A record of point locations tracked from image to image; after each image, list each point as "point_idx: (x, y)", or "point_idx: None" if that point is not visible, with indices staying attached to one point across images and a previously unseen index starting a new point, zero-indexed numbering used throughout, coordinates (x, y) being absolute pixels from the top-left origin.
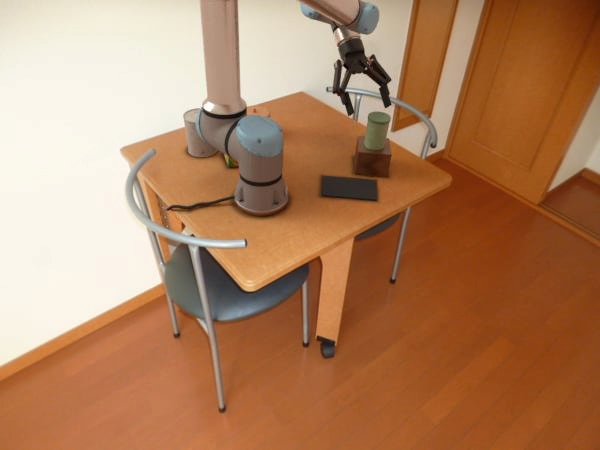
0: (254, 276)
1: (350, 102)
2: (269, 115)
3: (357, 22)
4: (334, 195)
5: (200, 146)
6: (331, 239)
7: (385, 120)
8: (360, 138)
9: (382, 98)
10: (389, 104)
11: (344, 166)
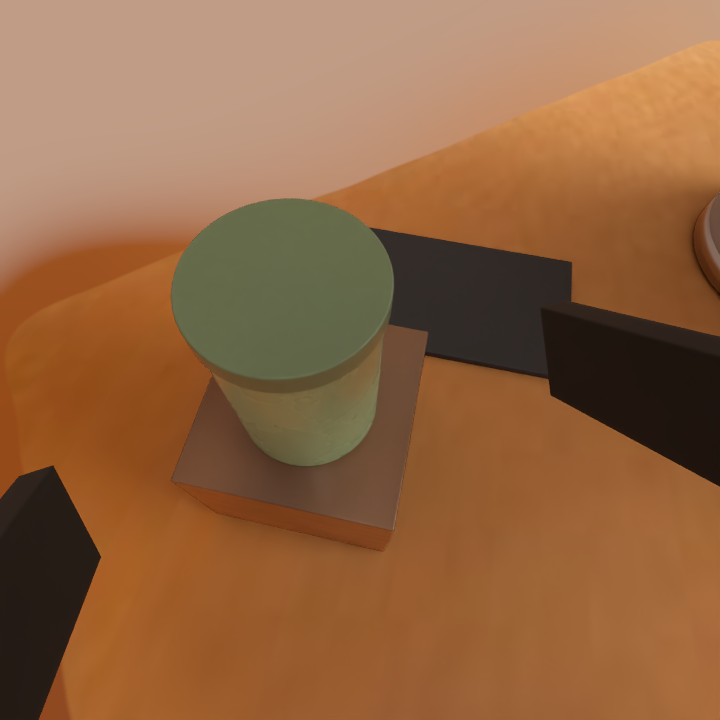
0: (713, 43)
1: (640, 326)
2: None
3: None
4: (522, 255)
5: None
6: (536, 109)
7: (255, 214)
8: (382, 487)
9: (53, 649)
10: (50, 469)
11: (454, 461)
